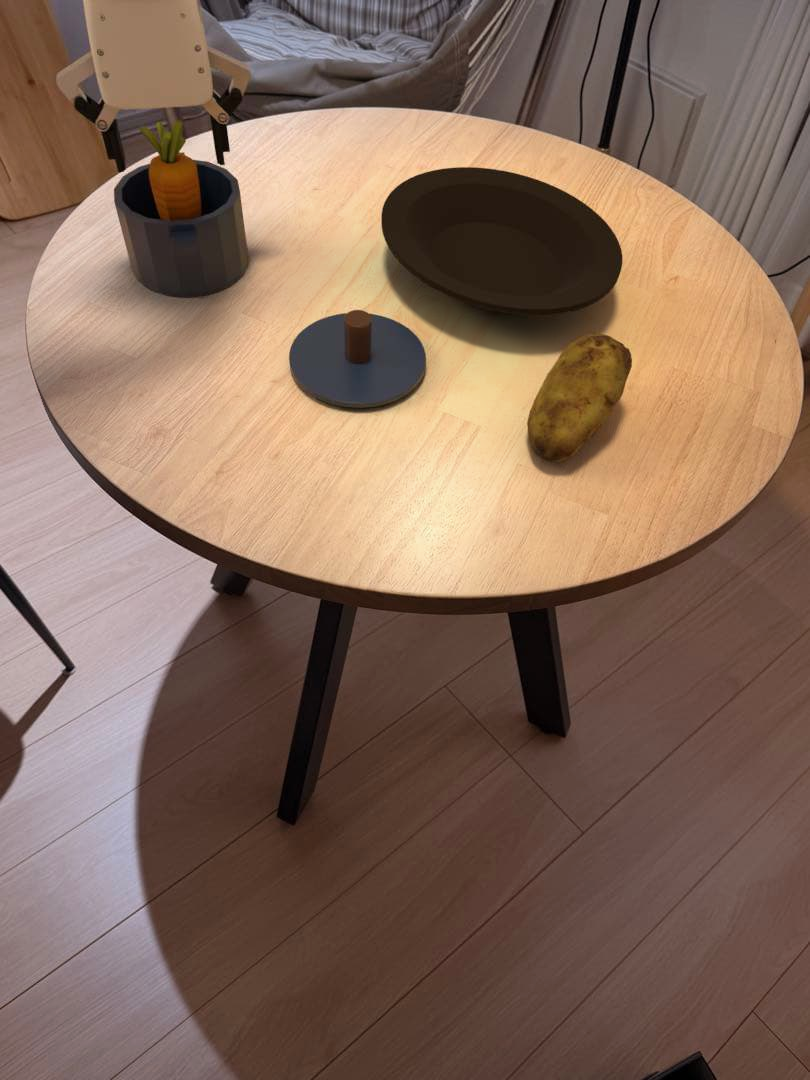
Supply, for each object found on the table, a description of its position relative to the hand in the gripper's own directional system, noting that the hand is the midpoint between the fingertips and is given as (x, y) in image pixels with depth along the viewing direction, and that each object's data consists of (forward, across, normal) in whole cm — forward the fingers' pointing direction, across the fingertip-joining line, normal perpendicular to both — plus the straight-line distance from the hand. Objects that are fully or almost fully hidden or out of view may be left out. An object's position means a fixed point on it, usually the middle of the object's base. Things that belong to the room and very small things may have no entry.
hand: (171, 161), depth 79 cm
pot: (+11, 0, 0) cm, 11 cm away
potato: (+12, -33, +32) cm, 47 cm away
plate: (+12, -33, +8) cm, 36 cm away
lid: (+11, -15, +20) cm, 27 cm away
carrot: (+11, 0, 0) cm, 11 cm away
